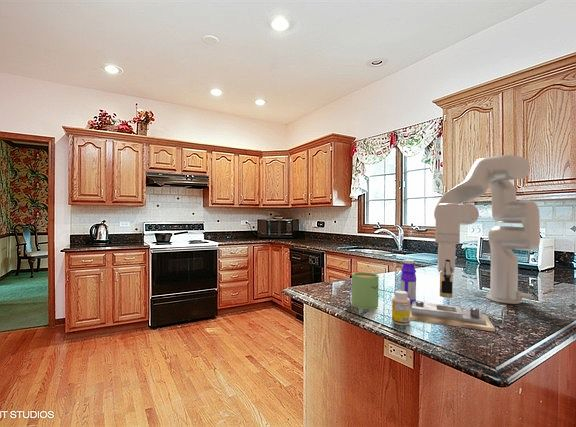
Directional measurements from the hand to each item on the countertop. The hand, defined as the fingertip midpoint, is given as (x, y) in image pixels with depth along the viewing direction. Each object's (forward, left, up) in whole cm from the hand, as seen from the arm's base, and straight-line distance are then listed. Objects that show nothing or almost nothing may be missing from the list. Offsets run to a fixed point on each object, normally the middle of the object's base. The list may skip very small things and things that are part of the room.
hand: (446, 291), depth 106 cm
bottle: (+13, -15, -10) cm, 22 cm away
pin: (0, 0, -2) cm, 2 cm away
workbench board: (0, 0, -9) cm, 9 cm away
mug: (+28, -4, -10) cm, 30 cm away
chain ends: (0, 0, -9) cm, 9 cm away
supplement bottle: (+14, +12, -10) cm, 21 cm away
